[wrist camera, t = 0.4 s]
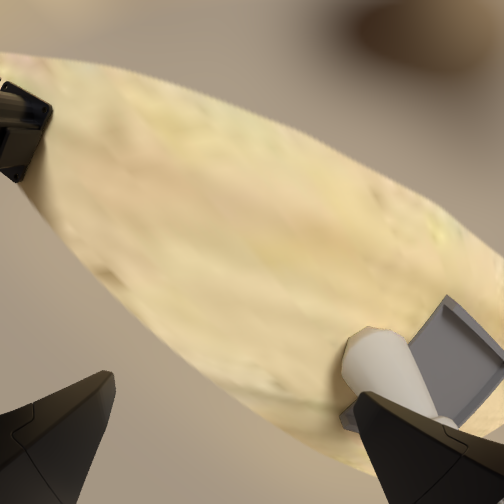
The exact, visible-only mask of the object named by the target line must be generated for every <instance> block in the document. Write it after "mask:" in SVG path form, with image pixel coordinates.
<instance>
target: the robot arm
mask: <svg viewBox="0 0 504 504" xmlns="http://www.w3.org/2000/svg"><path fill="white" fill-rule="evenodd" d="M1 79H2V78H0V81H1ZM6 87H7V89H6ZM46 108H47V111H46V113H45V109H46ZM51 112H52V106H51V105H50V104H49V103H47V102H45V101H44V100H42V99H40V98H38V97H37V96H35V95H33V94H31V93H30V92H28V91H26V90H24V89H22V88H21V87H19V86H17V85H15V84H14V83H12V82H9V81H6V82H5V83H4V84H3V85H2V87H1V89H0V172H2V173H3V174H4V175H5V176H7V177H8V178H9V179H10V180H12V181H13V182H15V183H18V182H21V181H22V180H23V177H24V175H25V172H26V169H27V167H28V164H29V163H30V161H31V158H32V156H33V153H34V151H35V148H36V146H37V144H38V141H39V139H40V137H41V134H42V131H43V129H44V127H45V125H46V123H47V121H48V119H49V117H50V115H51ZM17 174H18V178H17ZM115 394H116V387H115V380H114V375H113V373H112V372H109V371H105V370H102V371H100V372H98V373H96V374H93V375H91V376H89V377H87V378H85V379H83V380H81V381H79V382H77V383H75V384H72V385H70V386H68V387H66V388H64V389H62V390H59V391H57V392H55V393H53V394H51V395H48V396H46V397H44V398H42V399H40V400H37V401H35V402H33V404H32V403H30V404H27V405H25V406H23V407H21V408H18V409H15V410H13V411H10V412H7V413H4V414H1V415H0V504H76V502H77V500H78V498H79V495H80V492H81V489H82V487H83V484H84V481H85V479H86V476H87V474H88V471H89V469H90V466H91V464H92V461H93V459H94V456H95V454H96V451H97V449H98V446H99V444H100V441H101V439H102V437H103V434H104V432H105V430H106V427H107V424H108V420H109V416H110V413H111V409H112V405H113V402H114V398H115ZM353 414H354V417H355V420H356V424H357V427H358V430H359V434H360V437H361V440H362V442H363V445H364V447H365V449H366V452H367V454H368V456H369V458H370V461H371V463H372V465H373V468H374V470H375V472H376V475H377V477H378V479H379V481H380V484H381V486H382V488H383V491H384V493H385V495H386V498H387V500H388V503H389V504H504V444H500V443H497V442H493V441H490V440H487V439H484V438H480V437H477V436H474V435H471V434H468V433H465V432H462V431H459V430H457V429H454V428H452V427H449V426H447V425H445V424H441V423H439V422H437V421H435V420H432V419H430V418H428V417H425V416H423V415H421V414H419V413H416V412H414V411H412V410H410V409H408V408H406V407H403V406H401V405H399V404H397V403H395V402H393V401H391V400H388V399H386V398H384V397H382V396H380V395H378V394H376V393H374V392H372V391H362V392H361V393H360V394H359V396H358V398H357V400H356V402H355V404H354V406H353Z"/></svg>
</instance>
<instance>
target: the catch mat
mask: <svg viewBox="0 0 504 504" xmlns="http://www.w3.org/2000/svg"><path fill="white" fill-rule="evenodd" d="M408 347H409V349H410V351H411V353H412V355H413V358H414V360H415V362H416V364H417V366H418V369H419V371H420V373H421V375H422V378H423V380H424V382H425V385H426V387H427V389H428V392H429V394H430V396H431V399H432V401H433V404H434V406H435V409H436V411H437V414H438V416H444V417H448V418H450V419H452V420H453V422H454V423H455V424H456V425H457V427H458V429H459V428H460V427H461V426H462V425H463V424H464V423H465V422H466V421H467V420H468V419H469V417H470V416H471V415H472V414H473V413H474V412H475V411H476V410H477V409H478V408H479V407H480V406H481V405H482V404H483V403H484V401H485V400H486V399H487V398H488V397H489V396H490V395H491V393H492V392H493V391H494V390H495V389H496V388H497V386H498V385H499V384H500V383H501V381H502V380H503V379H504V350H503V349H502V348H501V347H500V346H499V345H498V344H497V343H496V342H495V341H494V339H493V338H492V337H491V336H490V335H489V334H488V333H487V332H486V331H485V330H484V329H483V328H482V327H481V326H480V325H479V324H478V323H477V322H476V321H475V320H474V319H473V318H472V317H471V316H470V315H469V314H468V313H467V312H466V311H465V310H464V309H463V308H462V307H461V306H460V305H459V304H458V303H457V302H456V301H454V300H453V299H452V298H451V297H449V296H448V295H446V296H445V298H444V299H443V301H442V302H441V303H440V305H439V306H438V307H437V309H436V310H435V311H434V313H433V314H432V315H431V317H430V318H429V319H428V321H427V322H426V323H425V324H424V326H423V327H422V328H421V329H420V331H419V332H418V333H417V334H416V336H415V337H414V338H413V339H412V340H411V342H410V343H409V344H408ZM355 402H356V401H355ZM355 402H354V403H353V404H352V405H351V406H350V407H349V408H347V409H346V410H345V411H344V412H343V413H342V414H341V415H340V416H339V417H340V420H341V423H342V425H343V428H344V429H346V430H349V431H353V432H356V433H359V430H358V427H357V424H356V420H355V417H354V414H353V406H354V404H355Z"/></svg>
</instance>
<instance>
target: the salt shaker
mask: <svg viewBox="0 0 504 504" xmlns="http://www.w3.org/2000/svg"><path fill="white" fill-rule="evenodd" d="M341 374H342V378H343V379H344V380H345V382H346V383H347V385H348V386H349V387H350V388H351V390H352V391H353V392H354V393H355V394H356V396H357V397H358V396H359V394H360V393H361V392H362V391H372V392H374V393H376V394H378V395H380V396H382V397H384V398H386V399H388V400H391V401H393V402H395V403H397V404H399V405H401V406H403V407H406V408H408V409H410V410H412V411H414V412H416V413H419V414H421V415H423V416H425V417H428V418H430V419H432V420H435V421H437V422H439V423H441V424H445V425H447V426H449V427H452V428H454V429H457V430H459V429H458V427H457V425H456V424H455V423H454V422H453V420H452V419H450V418H448V417H444V416H438V414H437V411H436V409H435V406H434V404H433V401H432V399H431V396H430V394H429V392H428V389H427V387H426V385H425V382H424V380H423V378H422V375H421V373H420V371H419V369H418V366H417V364H416V362H415V360H414V358H413V355H412V353H411V351H410V349H409V347H408V345H407V343H406V341H405V339H404V337H402V336H401V335H399V334H397V333H396V332H394V331H392V330H387V329H379V328H373V327H369V326H367V327H365V328H364V329H362V330H361V331H359V332H357V333H356V334H354V335H353V336H351V337H350V338H349V339H348V342H347V346H346V349H345V352H344V356H343V360H342V370H341Z"/></svg>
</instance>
